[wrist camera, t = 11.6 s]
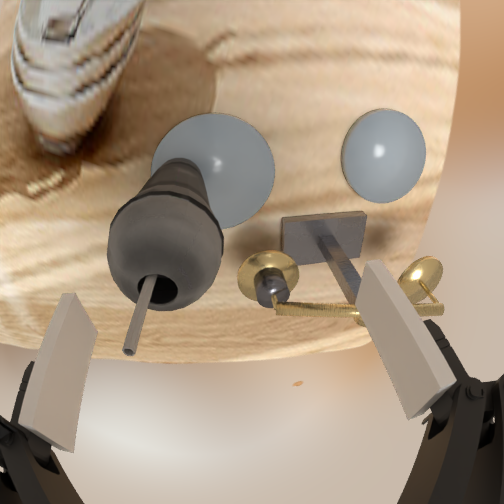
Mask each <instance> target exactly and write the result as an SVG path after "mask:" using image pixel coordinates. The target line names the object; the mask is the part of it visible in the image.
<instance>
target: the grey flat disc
mask: <svg viewBox="0 0 504 504" xmlns="http://www.w3.org/2000/svg"><path fill="white" fill-rule="evenodd" d="M173 158H185V159H189V160H191V161H192V162H194V163H195V164H196V165H197V166H198V168H199V169H200V171H201V174H202V177H203V179H204V183H205V187H206V191H207V196H208V200H209V204H210V208H211V210H212V212H213V214H214V216H215V218H216V219H217V220H218V222H219V225H220V228H221V229H227V228H230V227H234V226H236V225H238V224H241V223H242V222H244V221H246V220H248V219H249V218H250V217H252V216H253V215H254V214H255V213H256V212H258V211H259V209H260V208H261V207H262V206H263V205H264V203H265V202H266V200H267V199H268V197H269V194H270V192H271V190H272V187H273V183H274V176H275V167H274V160H273V156H272V153H271V150H270V148H269V146H268V144H267V142H266V141H265V139H264V138H263V137H262V136H261V134H260V133H259V132H258V131H257V130H256V129H255V128H254V127H253V126H251V125H250V124H249V123H247V122H245V121H244V120H242V119H240V118H237V117H235V116H232V115H228V114H222V113H206V114H200V115H196V116H193V117H190V118H188V119H186V120H184V121H182V122H181V123H179V124H178V125H176V126H175V127H174V128H173V129H171V130H170V131H169V132H168V134H167V135H166V136H165V137H164V138H163V139H162V141H161V142H160V144H159V146H158V147H157V149H156V152H155V154H154V157H153V160H152V166H151V176H152V175H153V174H154V173H155V172H156V170H157V169H158V168H159V167H161V165H162V164H164V163H165V162H166V161H168V160H170V159H173Z"/></svg>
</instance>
